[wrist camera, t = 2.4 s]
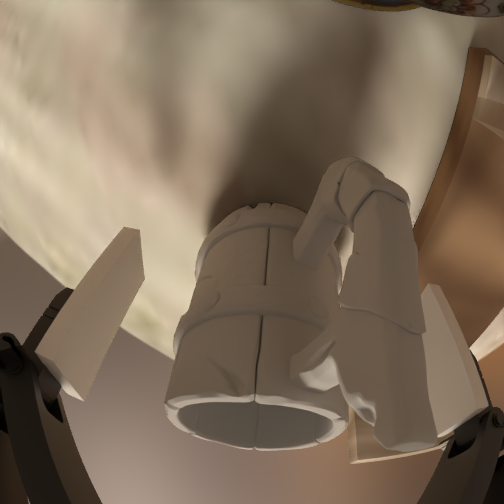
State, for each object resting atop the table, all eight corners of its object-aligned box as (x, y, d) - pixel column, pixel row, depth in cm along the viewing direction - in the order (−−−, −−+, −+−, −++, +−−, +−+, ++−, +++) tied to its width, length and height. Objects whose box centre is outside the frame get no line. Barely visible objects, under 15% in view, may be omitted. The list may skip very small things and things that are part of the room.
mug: (187, 276, 17) (121, 463, 8) (276, 95, 11) (233, 291, 1) (291, 318, 19) (285, 496, 9) (407, 178, 12) (548, 393, 2)
